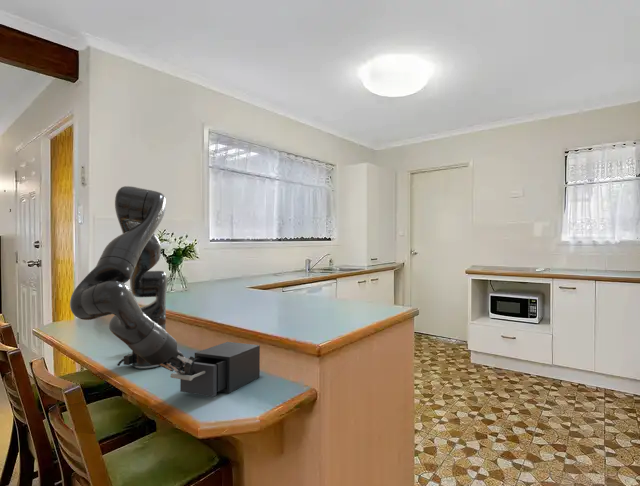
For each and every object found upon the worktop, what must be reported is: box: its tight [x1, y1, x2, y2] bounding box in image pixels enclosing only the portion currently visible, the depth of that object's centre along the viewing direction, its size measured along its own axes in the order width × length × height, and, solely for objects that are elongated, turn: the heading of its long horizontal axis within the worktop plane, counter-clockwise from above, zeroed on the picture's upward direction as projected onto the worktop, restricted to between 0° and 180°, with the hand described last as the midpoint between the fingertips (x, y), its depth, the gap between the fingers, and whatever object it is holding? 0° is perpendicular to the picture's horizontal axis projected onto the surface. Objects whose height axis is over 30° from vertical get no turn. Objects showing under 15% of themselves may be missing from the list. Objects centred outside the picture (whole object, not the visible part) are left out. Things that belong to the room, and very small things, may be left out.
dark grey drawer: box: [170, 357, 227, 398], centre depth 104 cm, size 18×12×8 cm, turn 161°
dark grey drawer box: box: [194, 341, 261, 394], centre depth 112 cm, size 14×13×10 cm
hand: (191, 376), depth 99 cm, fingers closed
